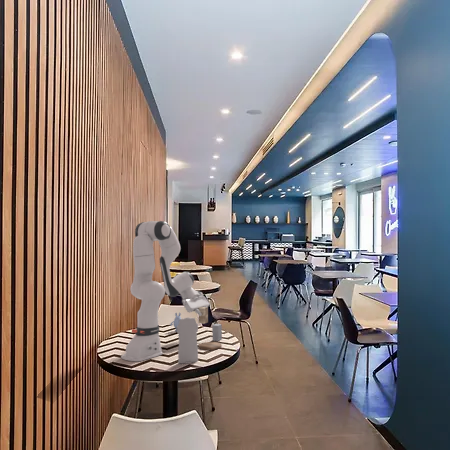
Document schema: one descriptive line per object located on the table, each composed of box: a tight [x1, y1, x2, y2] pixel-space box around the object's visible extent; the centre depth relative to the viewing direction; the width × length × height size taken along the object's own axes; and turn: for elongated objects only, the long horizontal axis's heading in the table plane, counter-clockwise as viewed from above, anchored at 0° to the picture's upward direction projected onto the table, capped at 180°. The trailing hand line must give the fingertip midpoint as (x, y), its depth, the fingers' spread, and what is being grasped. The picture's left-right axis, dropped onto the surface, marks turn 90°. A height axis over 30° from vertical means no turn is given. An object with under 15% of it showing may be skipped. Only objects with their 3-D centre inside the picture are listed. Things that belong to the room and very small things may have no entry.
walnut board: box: [197, 341, 222, 351], centre depth 217 cm, size 13×13×1 cm
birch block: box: [198, 306, 209, 325], centre depth 233 cm, size 4×4×9 cm
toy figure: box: [169, 312, 182, 332], centre depth 255 cm, size 11×6×12 cm, turn 107°
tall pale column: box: [176, 317, 199, 365], centre depth 192 cm, size 11×4×22 cm, turn 106°
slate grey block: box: [211, 323, 223, 342], centre depth 231 cm, size 4×4×9 cm
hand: (204, 314), depth 233 cm, fingers closed on birch block, 4 cm apart
